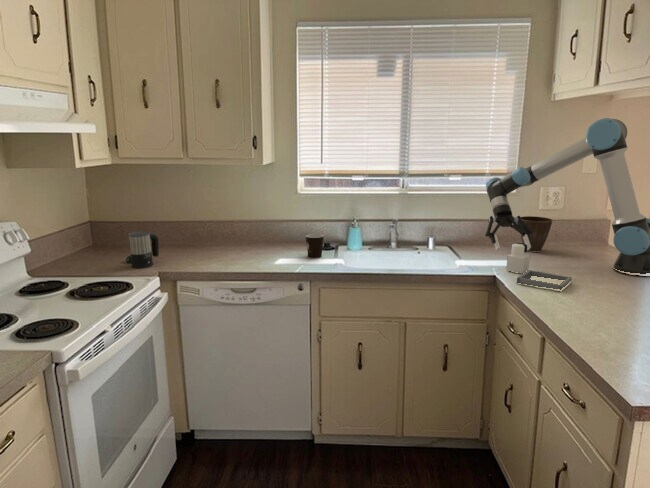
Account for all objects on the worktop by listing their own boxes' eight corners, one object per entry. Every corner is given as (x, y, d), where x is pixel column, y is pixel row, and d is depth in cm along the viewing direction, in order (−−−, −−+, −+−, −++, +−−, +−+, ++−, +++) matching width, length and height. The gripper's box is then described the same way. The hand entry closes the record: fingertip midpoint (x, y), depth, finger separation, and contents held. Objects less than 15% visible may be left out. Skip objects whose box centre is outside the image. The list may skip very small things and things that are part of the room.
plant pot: (543, 247, 248) (546, 216, 244) (553, 254, 233) (557, 221, 230) (513, 246, 249) (515, 216, 246) (521, 253, 235) (524, 221, 231)
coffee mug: (323, 258, 228) (323, 237, 225) (305, 258, 228) (304, 237, 226) (324, 252, 239) (324, 232, 237) (306, 252, 239) (306, 232, 237)
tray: (571, 283, 189) (571, 277, 188) (560, 292, 179) (561, 285, 178) (528, 275, 199) (529, 270, 198) (516, 283, 189) (517, 277, 188)
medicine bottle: (511, 268, 211) (513, 241, 208) (528, 270, 206) (531, 243, 204) (505, 271, 205) (508, 243, 203) (523, 274, 201) (525, 246, 198)
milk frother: (145, 269, 211) (142, 235, 208) (113, 267, 214) (109, 234, 211) (162, 261, 225) (160, 229, 221) (132, 259, 228) (129, 228, 224)
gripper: (524, 213, 222) (538, 252, 211) (471, 213, 220) (482, 254, 209) (531, 203, 216) (545, 243, 205) (476, 203, 214) (488, 244, 203)
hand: (513, 249), depth 207 cm, fingers open, 13 cm apart
